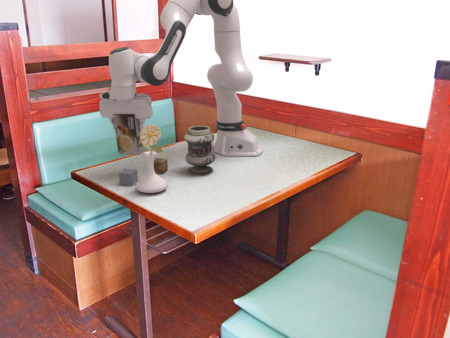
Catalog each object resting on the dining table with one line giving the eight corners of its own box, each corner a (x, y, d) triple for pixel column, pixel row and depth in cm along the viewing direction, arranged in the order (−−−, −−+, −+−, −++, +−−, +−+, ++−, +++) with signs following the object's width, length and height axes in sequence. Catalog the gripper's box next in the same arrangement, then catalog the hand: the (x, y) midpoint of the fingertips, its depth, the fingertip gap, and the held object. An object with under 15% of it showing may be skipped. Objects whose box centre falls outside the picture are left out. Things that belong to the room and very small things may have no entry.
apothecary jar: (193, 164, 176) (191, 122, 170) (219, 167, 172) (219, 125, 166) (180, 174, 165) (178, 130, 159) (208, 177, 161) (207, 132, 155)
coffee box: (146, 150, 165) (142, 110, 159) (139, 155, 159) (134, 114, 153) (124, 149, 167) (120, 110, 161) (117, 154, 161) (112, 113, 156)
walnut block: (167, 170, 170) (167, 158, 168) (163, 174, 165) (162, 162, 164) (156, 169, 171) (155, 157, 169) (151, 173, 166) (150, 161, 164)
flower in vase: (129, 189, 151) (123, 122, 142) (155, 181, 158) (151, 116, 149) (150, 200, 142) (145, 129, 133) (177, 191, 149) (173, 122, 141)
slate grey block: (137, 181, 158) (136, 169, 157) (132, 186, 154) (131, 173, 152) (125, 180, 159) (124, 168, 158) (119, 185, 155) (118, 172, 153)
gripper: (153, 92, 155) (156, 128, 160) (103, 91, 159) (107, 126, 164) (147, 95, 149) (150, 132, 154) (95, 94, 153) (100, 130, 158)
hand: (128, 129), depth 159 cm, fingers closed on coffee box, 8 cm apart
